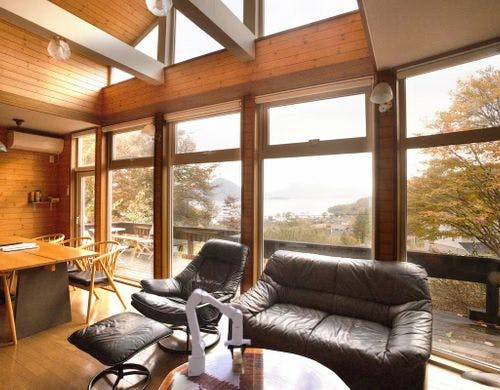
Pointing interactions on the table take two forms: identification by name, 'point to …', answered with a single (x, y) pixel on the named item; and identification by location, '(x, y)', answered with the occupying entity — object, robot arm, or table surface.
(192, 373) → the robot arm
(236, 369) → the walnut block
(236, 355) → the maple cube
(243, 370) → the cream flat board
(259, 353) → the table surface
